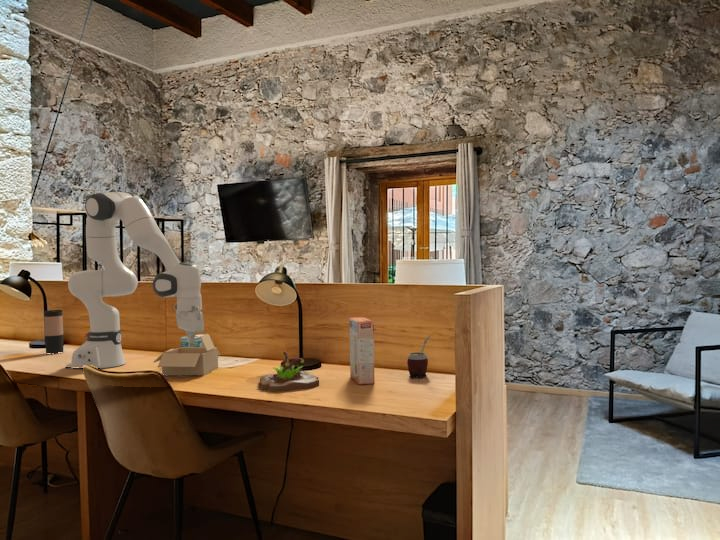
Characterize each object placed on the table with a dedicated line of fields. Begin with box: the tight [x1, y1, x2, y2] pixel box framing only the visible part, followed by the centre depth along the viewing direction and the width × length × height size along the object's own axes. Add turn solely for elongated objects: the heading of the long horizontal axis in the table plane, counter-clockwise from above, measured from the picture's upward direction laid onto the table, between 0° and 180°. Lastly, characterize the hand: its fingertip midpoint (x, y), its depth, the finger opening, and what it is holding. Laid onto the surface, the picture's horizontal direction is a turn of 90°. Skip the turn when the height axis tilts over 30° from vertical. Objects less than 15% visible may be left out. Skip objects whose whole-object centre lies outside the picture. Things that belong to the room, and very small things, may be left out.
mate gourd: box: [407, 334, 434, 379], centre depth 193 cm, size 8×8×15 cm
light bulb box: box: [179, 333, 211, 348], centre depth 232 cm, size 11×7×11 cm, turn 143°
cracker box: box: [349, 316, 376, 385], centre depth 190 cm, size 14×6×21 cm, turn 12°
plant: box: [258, 350, 320, 393], centre depth 187 cm, size 20×20×11 cm
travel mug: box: [43, 309, 64, 353], centre depth 263 cm, size 8×8×20 cm
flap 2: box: [200, 333, 216, 351], centre depth 210 cm, size 1×7×6 cm, turn 172°
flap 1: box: [157, 352, 200, 368], centre depth 202 cm, size 14×1×6 cm
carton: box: [153, 346, 221, 377], centre depth 214 cm, size 21×19×8 cm
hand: (190, 342), depth 211 cm, fingers closed
